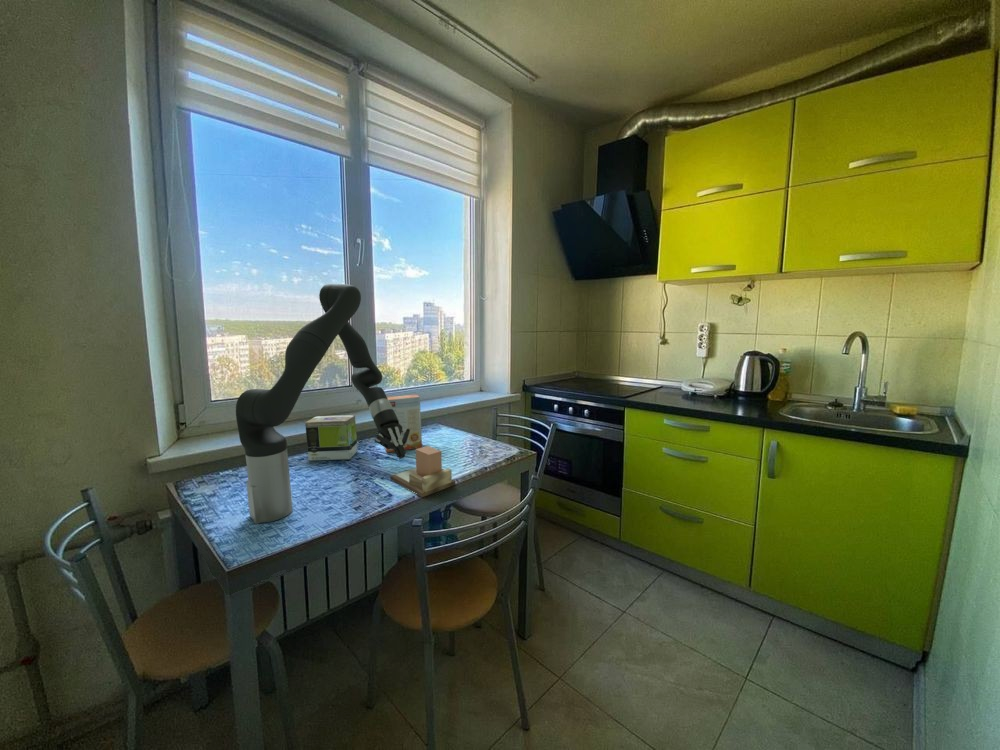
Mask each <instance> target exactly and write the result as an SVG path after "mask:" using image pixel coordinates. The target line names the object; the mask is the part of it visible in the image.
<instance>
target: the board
mask: <svg viewBox="0 0 1000 750" xmlns="http://www.w3.org/2000/svg"><path fill="white" fill-rule="evenodd" d="M452 475H453V474H452V469H450V468H449V467H447V468H446V469H443V468H442V471H439V472H436V473H433V474H430V475H427V476H424V477H422V476H420V475H418V474H416V467H413V468H411V469H408V470H404V471H401V472H397V473H395V474H391V475H390V476H389V477H390V480H391V481H392V482H394V483H396V484H398V485H399V486H401V487H403V488H405V489H406V488H407V490H408V489H409V491H410V492H412V491H413V492H415V493H417V494H418V495H417V494H416V495H417V496H419V497H421V498H424V497H427V496H429V495H432V494H435V493H437V492H440V491H442V490H445V489H448V488H450V487H453V486H455V485H456V480H454V479H452ZM413 492H412V493H413ZM415 493H414V494H415Z"/></svg>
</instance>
